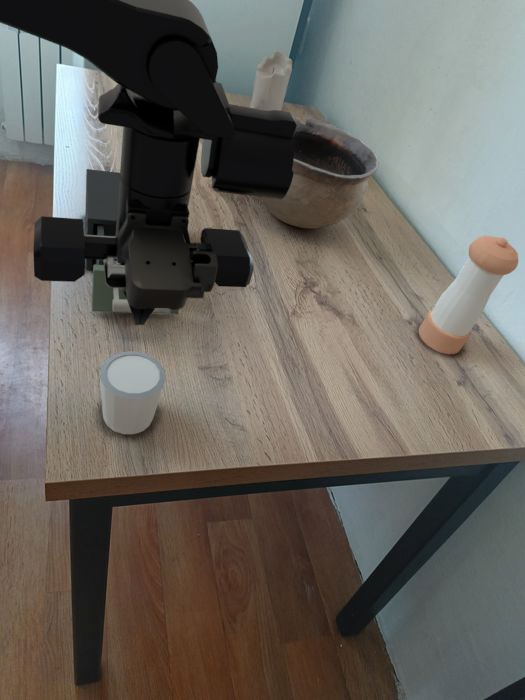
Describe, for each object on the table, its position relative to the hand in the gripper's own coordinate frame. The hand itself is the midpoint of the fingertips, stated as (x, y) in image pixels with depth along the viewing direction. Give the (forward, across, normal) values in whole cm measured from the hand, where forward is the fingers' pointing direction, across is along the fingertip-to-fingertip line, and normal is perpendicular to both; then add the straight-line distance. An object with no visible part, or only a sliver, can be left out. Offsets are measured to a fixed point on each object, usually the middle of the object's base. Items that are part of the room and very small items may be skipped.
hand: (138, 322), depth 54 cm
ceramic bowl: (+13, +36, +45) cm, 59 cm away
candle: (+13, +32, +71) cm, 79 cm away
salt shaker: (+13, +50, +11) cm, 53 cm away
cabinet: (+13, +3, +32) cm, 35 cm away
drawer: (+12, +2, +19) cm, 23 cm away
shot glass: (+13, 0, -2) cm, 13 cm away
